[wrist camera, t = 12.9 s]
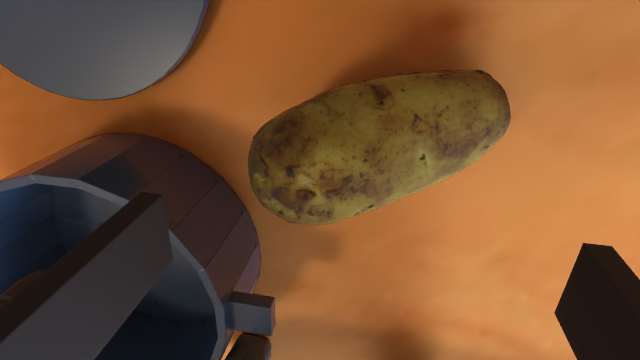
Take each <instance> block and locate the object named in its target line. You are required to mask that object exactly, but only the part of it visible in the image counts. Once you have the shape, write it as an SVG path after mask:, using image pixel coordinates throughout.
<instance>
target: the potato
mask: <svg viewBox="0 0 640 360" xmlns="http://www.w3.org/2000/svg"><path fill="white" fill-rule="evenodd" d="M510 118H511V116H510V107H509V103H508V99H507V95H506V92H505V90H504V89H503V88H502V86H501V85H500V84H499V83H498V82H497V81H496V80H494V79H493V78H492V76H491V75H490V74H488V73H486V72H484V71H481V70H475V71H471V70H456V71H450V70H443V71H436V72H434V73H427V74H422V73H418V72H412V73H406V74H397V75H396V76H392V77H385V78H379V79H374V80H364V81H363V82H360V83H355V84H350V85H345V86H341V87H337V88H333V89H330V90H328V91H325V92H323V93H321V94H319V95H317V96H315V97H313V98H311V99H309V100H307V101H305V102H303V103H301V104H299V105H297V106H294V107H292V108H290V109H288V110H286V111H284V112H282V113H281V114H279V115H277V116H276V117H274V118H273V119H271V120H270V121H268V122H267V123H265V124H264V125H263V126H262V127H261V128H260V129H259V130H258V132H257V133H256V134H255V135H254V137H253V141H252V144H251V148H250V151H249V157H248V167H249V176H250V182H251V186H252V189H253V191H254V193H255V195H256V197H257V198H258V200H259V201H260V202H261V204H262V205H263V206H264V207H266V208H267V209H268V210H270V211H271V212H273V213H274V214H276V215H277V216H279V217H281V218H283V219H285V220H287V221H288V222H292V223H300V224H306V225H326V224H332V223H335V222H338V221H341V220H344V219H346V218H348V217H350V216H355V215H359V214H362V213H365V212H368V211H371V210H374V209H377V208H380V207H382V206H385V205H387V204H390V203H392V202H394V201H396V200H398V199H400V198H403V197H406V196H408V195H411V194H414V193H416V192H418V191H421V190H423V189H425V188H428V187H430V186H432V185H434V184H437V183H439V182H441V181H443V180H445V179H447V178H449V177H451V176H452V175H454V174H456V173H458V172H459V171H461V170H463V169H464V168H466V167H467V166H469V165H470V164H472V163H473V162H475V161H476V160H477V159H479V158H480V157H481V156H483V155H484V154H485V153H486V152H487V151H488V150H490V149H491V148H492V147H493V146H494V145H495V144H496V143H497V142H498V141H499V140H500V139H501V137H502V136H503V135H504V133H505V132H506V130H507V128H508V126H509V124H510Z"/></svg>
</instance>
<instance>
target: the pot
mask: <svg viewBox="0 0 640 360" xmlns="http://www.w3.org/2000/svg"><path fill="white" fill-rule="evenodd" d="M140 192H148V193H156V194H162V196H163V201H164V207H165V213H166V219H167V224H168V230H169V236H170V242H171V247H172V253H173V259H174V260H173V261H172V262H171V264H170V265H169V266H168V267H167V269H166V270H165V271H164V273H163V274H162V275H161V276H160V278H159V279H158V280H157V281H156V283H155V284H154V285H153V286H152V288H151V289H150V290H149V291H148V293H147V294H146V295H145V296H144V298H143V299H142V300H141V301H140V303H139V304H138V305H137V306H136V308H135V309H134V310H133V311H132V313H131V314H130V315H129V316H128V318H127V319H126V320H125V321H124V323H123V324H122V325H121V326H120V328H119V329H118V330H117V332H116V333H115V334H114V335H113V337H112V338H111V339H110V340H109V342H108V343H107V344H106V345H105V347H104V348H103V349H102V350H101V352H100V353H99V354H98V355H97V357H96V358H95V359H94V360H221V358H222V356H223V354H224V352H225V350H226V348H227V346H228V344H229V342H230V340H231V338H232V335H233V333H234V331H235V330H239V331H245V332H251V333H256V334H262V335H268V336H271V335H272V333H273V330H274V327H275V298H274V297H270V296H263V295H257V294H252V293H253V290H254V287H255V285H256V282H257V279H258V276H259V274H260V258H261V255H260V246H259V240H258V237H257V233H256V229H255V227H254V225H253V222H252V220H251V217H250V215H249V213H248V212H247V210H246V208H245V206H244V205H243V203H242V201H241V200H240V199H239V197H238V196H237V195H236V193H235V192H234V191H233V189H232V188H231V187H230V186H229V185H228V184H227V183H226V182H225V181H224V180H223V178H222V177H221V176H219V175H218V174H217V173H216V172H215V171H214V170H213V169H211V168H210V167H209V166H208V165H206V164H205V163H204V162H202V161H201V160H199V159H198V158H197V157H195V156H194V155H192V154H190V153H188V152H186V151H185V150H183V149H181V148H179V147H177V146H174V145H172V144H170V143H167V142H165V141H162V140H159V139H155V138H152V137H149V136H143V135H137V134H126V133H114V134H112V133H111V134H105V135H100V136H96V137H93V138H90V139H87V140H83V141H79V142H77V143H75V144H73V145H71V146H69V147H67V148H65V149H63V150H61V151H59V152H57V153H55V154H53V155H50V156H48V157H46V158H44V159H42V160H40V161H38V162H36V163H34V164H32V165H30V166H28V167H26V168H24V169H22V170H20V171H18V172H16V173H14V174H11V175H9V176H7V177H5V178H3V179H1V180H0V295H1V294H2V293H3V292H5V291H6V290H7V289H8V288H10V287H11V286H12V285H13V284H15V283H16V282H17V281H19V280H21V279H23V278H25V277H27V276H29V275H30V274H32V273H34V272H36V271H38V270H40V269H41V270H47V269H48V268H49V267H51V266H52V265H53V264H54V263H55V262H57V261H58V260H59V259H60V258H62V257H63V256H64V255H65V254H66V253H68V252H69V251H70V250H71V249H72V248H74V247H75V246H76V245H77V244H78V243H80V242H81V241H82V240H83V239H85V238H86V237H87V236H88V235H89V234H91V233H92V232H93V231H94V230H95V229H97V228H98V227H99V226H100V225H101V224H103V223H104V222H105V221H106V220H108V219H109V218H110V217H111V216H112V215H114V214H115V213H116V212H117V211H118V210H120V209H121V208H122V207H123V206H124V205H126V204H127V203H128V202H129V201H131V200H132V199H133V198H134V197H135V196H137V195H138V194H139V193H140Z"/></svg>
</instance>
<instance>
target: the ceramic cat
mask: <svg viewBox="0 0 640 360" xmlns="http://www.w3.org/2000/svg"><path fill="white" fill-rule="evenodd" d="M270 355H271V345H270V343H269V341H267V340H265V339H264V338H262V337H259V336H253V335H247V334H241V335H240V336H239V337H238V339H237V340H236V342H235V344H234V346H233V347H232V349H231V350H230V352H229V354H228V355H227V357H226V358H225V360H270Z"/></svg>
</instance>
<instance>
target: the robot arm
mask: <svg viewBox="0 0 640 360" xmlns="http://www.w3.org/2000/svg"><path fill="white" fill-rule="evenodd" d="M173 260H174V259H173V253H172V247H171V242H170V236H169V230H168V224H167V219H166V213H165V207H164V201H163V196H162V194H156V193H148V192H140V193H139V194H138V195H137V196H135V197H134V198H133V199H132V200H131V201H129V202H128V203H127V204H126V205H124V206H123V207H122V208H121V209H120V210H118V211H117V212H116V213H115V214H114V215H112V216H111V217H110V218H109V219H108V220H106V221H105V222H104V223H103V224H101V225H100V226H99V227H98V228H97V229H95V230H94V231H93V232H92V233H91V234H89V235H88V236H87V237H86V238H85V239H83V240H82V241H81V242H80V243H78V244H77V245H76V246H75V247H74V248H72V249H71V250H70V251H69V252H68V253H66V254H65V255H64V256H63V257H62V258H60V259H59V260H58V261H57V262H55V263H54V264H53V265H52V266H51V267H49V268H48V269H47V270H41V269H40V270H38V271H36V272H34V273H32V274H30V275H29V276H27V277H25V278H23V279H21V280H19V281H17V282H16V283H15V284H13V285H12V286H11V287H10V288H8V289H7V290H6V291H5V292H3V293H2V294H1V295H0V360H94V359H95V358H96V357H97V355H98V354H99V353H100V352H101V350H102V349H103V348H104V347H105V345H106V344H107V343H108V342H109V340H110V339H111V338H112V337H113V335H114V334H115V333H116V332H117V330H118V329H119V328H120V326H121V325H122V324H123V323H124V321H125V320H126V319H127V318H128V316H129V315H130V314H131V313H132V311H133V310H134V309H135V308H136V306H137V305H138V304H139V303H140V301H141V300H142V299H143V298H144V296H145V295H146V294H147V293H148V291H149V290H150V289H151V288H152V286H153V285H154V284H155V283H156V281H157V280H158V279H159V278H160V276H161V275H162V274H163V273H164V271H165V270H166V269H167V267H168V266H169V265H170V264H171V262H172V261H173ZM555 315H556V317H557V319H558V321H559V323H560V325H561V327H562V329H563V331H564V334H565V336H566V338H567V340H568V342H569V344H570V346H571V348H572V350H573V352H574V354H575V356H576V358H577V360H640V280H639V278H638V277H637V276H636V275H635V274H634V272H633V271H632V270H631V269H630V268H629V266H628V265H627V264H626V263H625V262H624V260H623V259H622V258H621V257H620V255H619V254H618V253H617V252H616V251H615V249H614V248H613V247H612V246H605V245H596V244H587V243H583V245H582V247H581V250H580V252H579V255H578V257H577V260H576V262H575V264H574V267H573V269H572V272H571V274H570V277H569V279H568V281H567V284H566V286H565V289H564V291H563V294H562V296H561V298H560V301H559V303H558V306H557V308H556V311H555Z"/></svg>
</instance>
